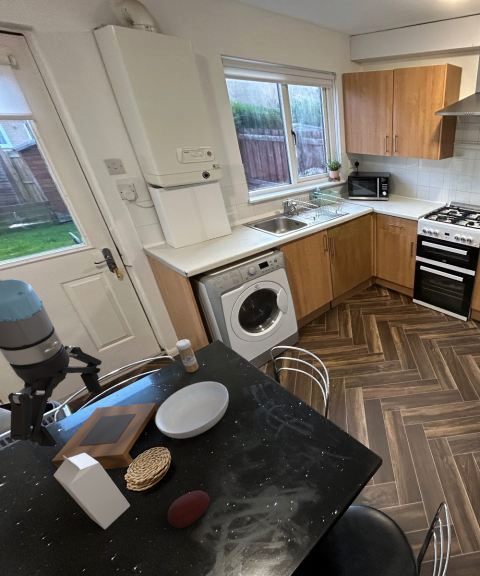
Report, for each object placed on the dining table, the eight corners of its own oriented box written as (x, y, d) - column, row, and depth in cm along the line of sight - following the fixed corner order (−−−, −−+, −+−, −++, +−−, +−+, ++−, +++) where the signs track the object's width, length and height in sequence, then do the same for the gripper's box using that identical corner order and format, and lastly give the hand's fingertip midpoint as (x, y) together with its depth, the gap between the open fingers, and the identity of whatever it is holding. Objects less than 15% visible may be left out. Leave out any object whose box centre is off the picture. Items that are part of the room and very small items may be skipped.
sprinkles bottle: (188, 374, 122) (178, 348, 115) (184, 369, 124) (173, 342, 118) (201, 368, 125) (191, 342, 118) (196, 363, 127) (186, 337, 121)
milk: (117, 495, 83) (78, 443, 72) (131, 505, 81) (93, 453, 70) (90, 519, 78) (45, 466, 67) (104, 530, 76) (60, 478, 65)
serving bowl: (242, 395, 113) (238, 381, 110) (214, 448, 95) (208, 434, 91) (186, 393, 113) (180, 380, 110) (146, 447, 95) (138, 432, 92)
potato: (175, 506, 81) (167, 493, 78) (213, 493, 83) (207, 480, 81) (169, 538, 75) (160, 526, 72) (210, 523, 77) (203, 511, 74)
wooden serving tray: (62, 473, 88) (51, 460, 85) (104, 419, 103) (96, 407, 100) (130, 466, 90) (122, 454, 87) (162, 414, 105) (156, 402, 102)
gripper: (-7, 410, 51) (44, 473, 62) (103, 314, 71) (127, 375, 83) (-60, 406, 50) (2, 470, 61) (67, 310, 71) (96, 372, 82)
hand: (74, 416), depth 72 cm, fingers open, 13 cm apart
